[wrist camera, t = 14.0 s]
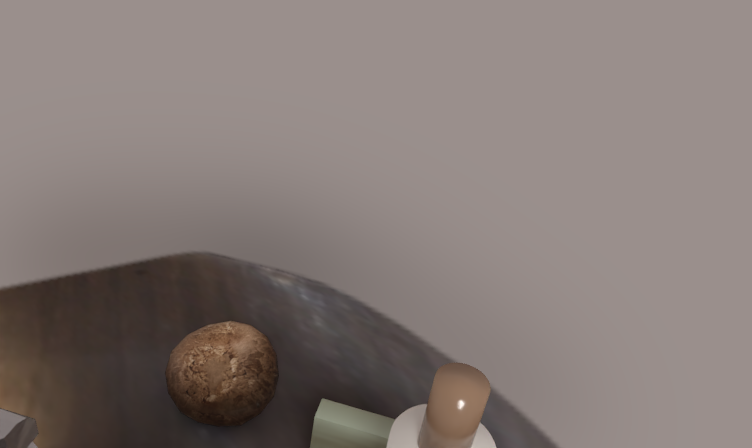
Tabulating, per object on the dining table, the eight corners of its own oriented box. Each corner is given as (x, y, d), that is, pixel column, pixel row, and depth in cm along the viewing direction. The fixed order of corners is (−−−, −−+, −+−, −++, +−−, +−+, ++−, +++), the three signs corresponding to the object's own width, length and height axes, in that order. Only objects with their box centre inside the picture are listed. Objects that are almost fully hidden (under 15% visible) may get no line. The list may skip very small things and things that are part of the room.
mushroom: (235, 307, 57) (226, 289, 51) (302, 380, 55) (300, 370, 50) (155, 376, 55) (136, 365, 49) (222, 455, 53) (211, 453, 47)
